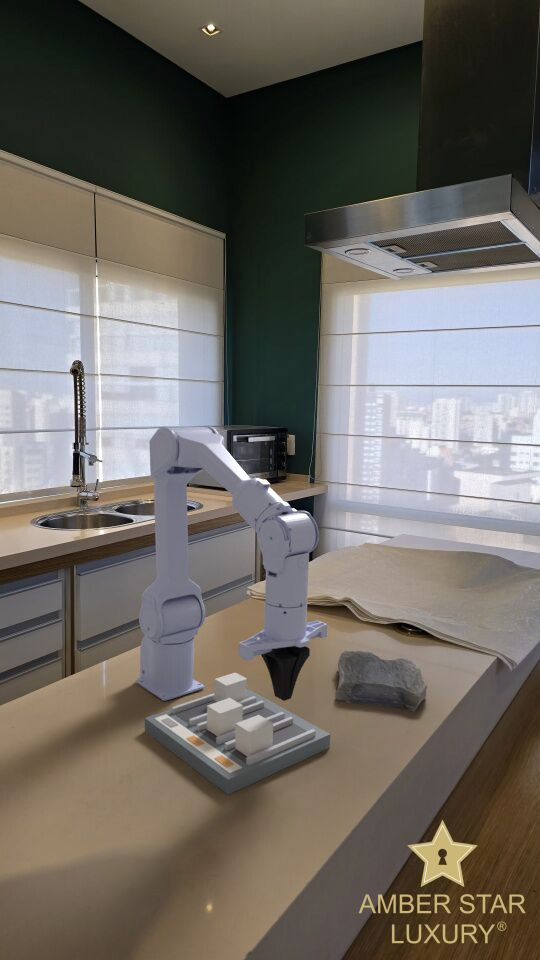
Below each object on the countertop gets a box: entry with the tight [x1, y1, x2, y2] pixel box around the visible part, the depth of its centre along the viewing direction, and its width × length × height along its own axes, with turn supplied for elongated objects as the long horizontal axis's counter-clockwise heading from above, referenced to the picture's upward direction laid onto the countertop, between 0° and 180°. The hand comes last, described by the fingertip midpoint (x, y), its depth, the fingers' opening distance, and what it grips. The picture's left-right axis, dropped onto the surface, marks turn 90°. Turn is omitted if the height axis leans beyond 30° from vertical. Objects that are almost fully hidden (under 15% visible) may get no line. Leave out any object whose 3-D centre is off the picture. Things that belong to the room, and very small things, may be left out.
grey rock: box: [334, 650, 428, 712], centre depth 114 cm, size 15×16×4 cm
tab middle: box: [207, 698, 243, 736], centre depth 93 cm, size 3×4×4 cm
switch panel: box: [144, 688, 331, 796], centre depth 95 cm, size 20×18×3 cm
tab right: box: [235, 715, 273, 757], centre depth 89 cm, size 3×4×4 cm
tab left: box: [213, 671, 248, 702], centre depth 102 cm, size 3×4×4 cm
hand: (282, 697), depth 91 cm, fingers closed
